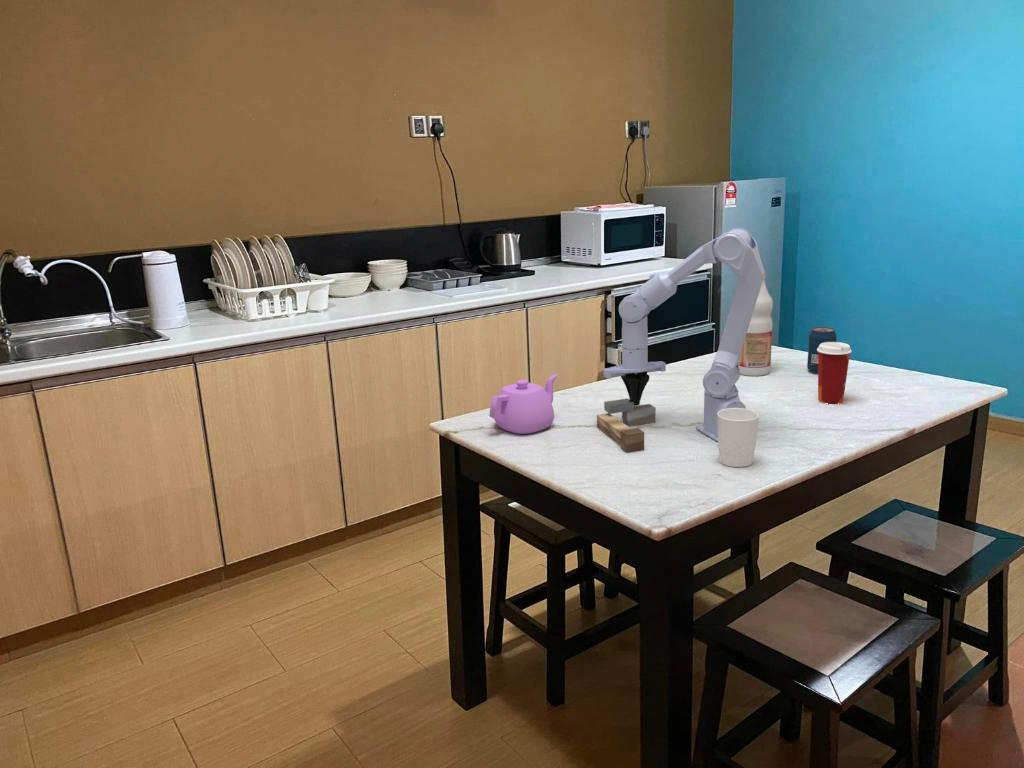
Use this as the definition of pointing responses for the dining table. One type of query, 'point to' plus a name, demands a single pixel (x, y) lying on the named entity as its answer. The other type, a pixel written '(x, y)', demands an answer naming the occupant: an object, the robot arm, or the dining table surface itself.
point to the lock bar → (618, 406)
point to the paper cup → (832, 371)
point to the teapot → (524, 407)
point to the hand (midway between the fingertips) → (634, 404)
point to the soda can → (815, 339)
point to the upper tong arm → (612, 423)
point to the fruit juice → (758, 337)
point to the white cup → (737, 436)
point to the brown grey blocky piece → (633, 437)
